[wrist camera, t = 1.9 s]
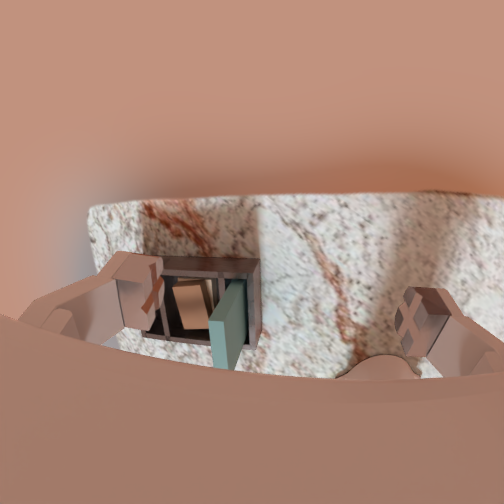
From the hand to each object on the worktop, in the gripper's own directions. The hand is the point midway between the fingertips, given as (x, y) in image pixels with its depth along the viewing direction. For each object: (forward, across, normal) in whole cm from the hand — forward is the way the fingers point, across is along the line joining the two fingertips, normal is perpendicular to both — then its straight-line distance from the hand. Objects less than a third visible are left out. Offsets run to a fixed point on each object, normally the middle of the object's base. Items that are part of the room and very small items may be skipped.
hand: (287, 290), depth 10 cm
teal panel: (+35, -2, -28) cm, 45 cm away
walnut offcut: (+34, -10, -29) cm, 45 cm away
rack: (+38, -11, -30) cm, 49 cm away
